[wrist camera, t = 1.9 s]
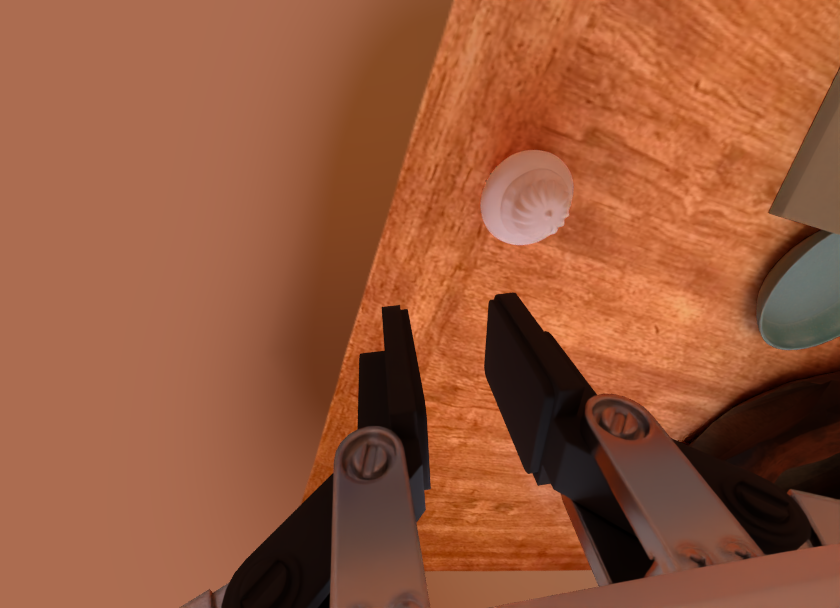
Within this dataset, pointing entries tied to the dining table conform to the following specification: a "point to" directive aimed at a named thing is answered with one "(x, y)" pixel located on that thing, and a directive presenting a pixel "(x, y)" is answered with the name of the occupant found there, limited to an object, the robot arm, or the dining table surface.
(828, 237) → the saucer
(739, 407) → the bowl
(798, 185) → the wall
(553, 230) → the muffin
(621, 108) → the dining table surface
